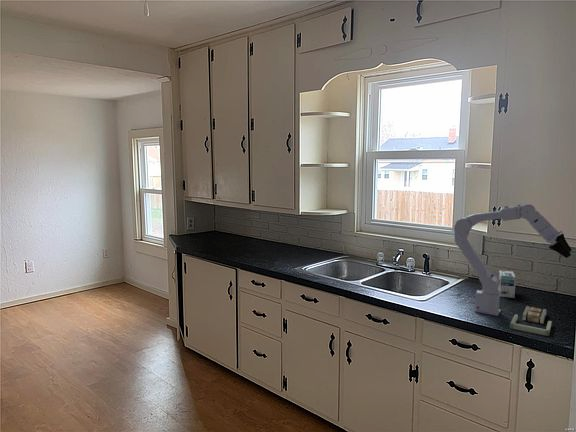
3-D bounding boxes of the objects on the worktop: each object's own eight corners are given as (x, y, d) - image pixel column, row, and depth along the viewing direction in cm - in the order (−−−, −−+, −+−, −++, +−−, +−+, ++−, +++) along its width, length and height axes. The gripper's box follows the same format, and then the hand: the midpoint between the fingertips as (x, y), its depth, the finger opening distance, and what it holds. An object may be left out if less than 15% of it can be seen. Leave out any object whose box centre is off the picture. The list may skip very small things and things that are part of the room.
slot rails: (522, 319, 180) (522, 314, 180) (526, 311, 190) (526, 305, 190) (543, 324, 176) (543, 318, 176) (545, 314, 186) (546, 309, 185)
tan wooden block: (527, 320, 180) (527, 314, 179) (528, 317, 183) (529, 311, 183) (538, 323, 178) (538, 316, 177) (539, 320, 181) (539, 313, 180)
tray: (509, 328, 172) (510, 323, 172) (514, 318, 182) (514, 314, 181) (548, 336, 165) (549, 331, 164) (551, 326, 174) (551, 321, 174)
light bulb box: (514, 298, 207) (516, 276, 205) (499, 296, 209) (500, 275, 208) (512, 291, 217) (513, 271, 215) (497, 290, 219) (499, 269, 218)
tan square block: (529, 316, 185) (529, 309, 184) (530, 313, 188) (530, 307, 187) (539, 318, 182) (540, 311, 182) (540, 315, 186) (541, 309, 185)
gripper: (551, 225, 167) (578, 252, 164) (553, 218, 179) (578, 243, 175) (535, 236, 171) (561, 263, 168) (538, 228, 183) (563, 253, 179)
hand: (569, 254), depth 172 cm, fingers open, 7 cm apart
